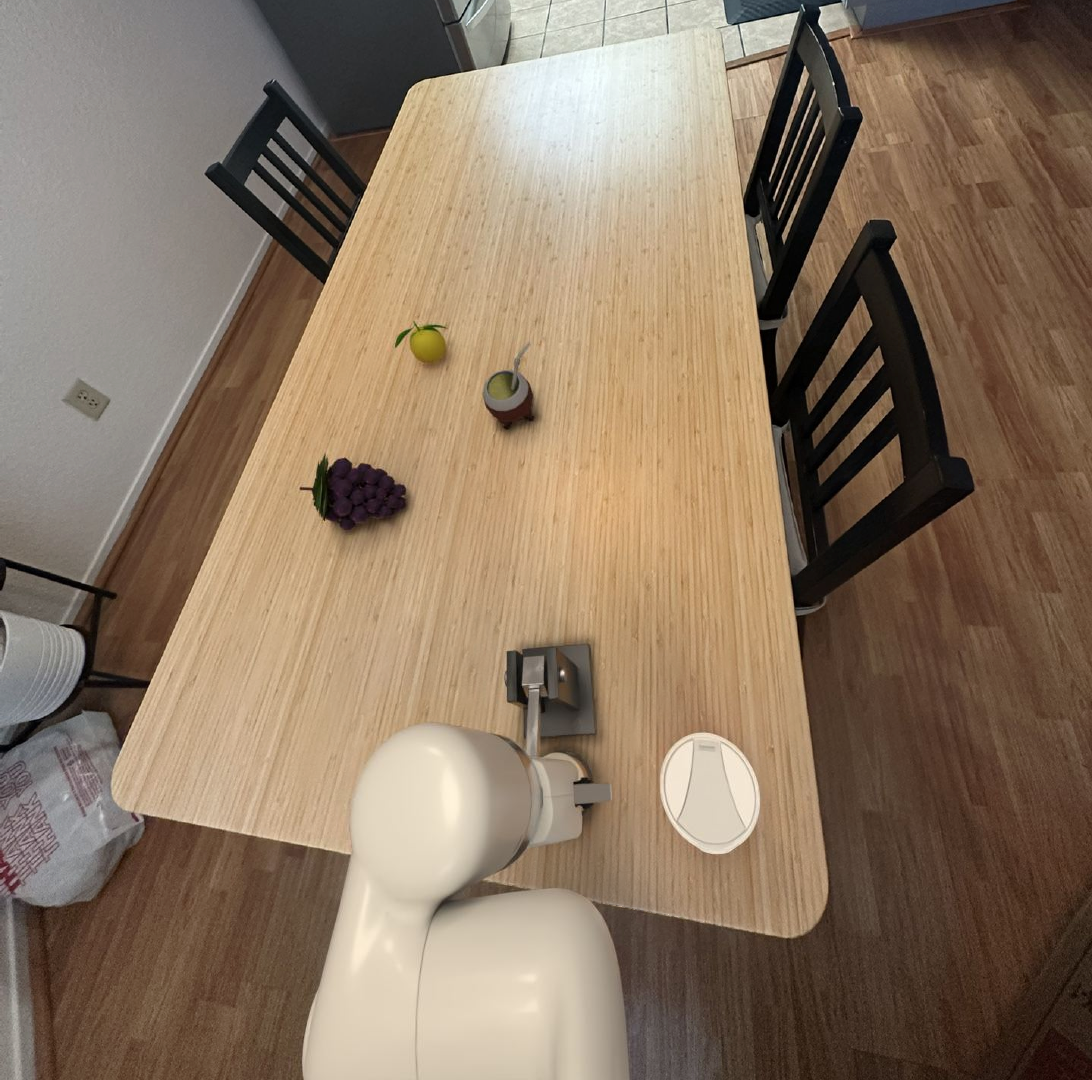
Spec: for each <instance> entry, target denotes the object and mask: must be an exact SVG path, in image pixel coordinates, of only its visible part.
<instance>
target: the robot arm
mask: <svg viewBox="0 0 1092 1080" xmlns="http://www.w3.org/2000/svg"><path fill="white" fill-rule="evenodd" d="M543 757H544V756H542V757H531V756H529V755H528V754H527V752H526V749H524V748H523V746H521V745H520V744H519V743H517V742H516V741H515V740H513V739H511V738H510V737H508V736H505V735H501V734H498V733H493V732H487V731H484V730H479V729H474V728H469V727H465V726H461V725H455V724H451V723H447V722H446V723H445V722H440V721H439V722H438V721H437V722H436V721H425V722H418V723H413V724H411V725H409V726H406V727H403V728H402V729H399V730H398V731H396V732H395V733H393V734H392V735H390V736H389V737H388V738H387V739H385V740H384V741H383V742H382V743H381V744H380V745H379V746H378V747H377V748H376V750H375V751H374V752H373V753H372V755H371V756H370V757H369V759H368V760H367V762H366V763H365V765H364V767H363V769H362V770H361V772H360V775H359V777H358V780H357V782H356V784H355V787H354V791H353V794H352V798H351V803H350V810H349V837H350V845H351V853H350V858H349V862H348V867H347V871H346V875H345V880H344V884H343V889H342V894H341V897H340V903H339V906H338V910H337V913H336V919H335V922H334V926H333V930H332V933H331V938H330V941H329V945H328V950H327V952H326V953H327V954H326V957H325V961H324V965H323V969H322V973H321V977H320V980H319V981H320V982H319V985H318V988H317V991H316V993H315V995H314V998H313V1001H312V1003H311V1007H310V1010H309V1014H308V1016H307V1022H306V1027H305V1030H304V1037H303V1043H302V1044H303V1045H302V1053H301V1054H302V1057H301V1066H302V1077H303V1080H631V1078H630V1062H629V1061H630V1060H629V1047H628V1046H629V1045H628V1034H627V1033H628V1032H627V1018H626V1008H625V1002H624V1001H625V1000H624V993H623V992H624V991H623V985H622V977H621V971H620V966H619V961H618V955H617V952H616V948H615V945H614V941H613V938H612V935H611V933H610V930H609V927H608V925H607V923H606V921H605V919H604V917H603V915H602V914H601V912H600V911H599V910H598V908H597V907H596V906H595V904H594V903H593V902H592V901H591V900H589V898H587V897H586V896H584V895H582V894H580V893H578V892H577V891H574V890H572V889H571V890H570V889H566V888H561V887H553V888H552V887H551V888H538V889H527V890H519V891H518V890H517V891H509V892H504V893H497V894H489V895H483V896H475V897H468V898H460V897H461V895H462V893H463V892H464V891H465V890H466V889H467V888H469V887H471V886H473V885H475V884H477V883H480V882H481V881H483V880H485V879H487V878H489V877H491V876H493V875H495V874H497V873H500V872H501V871H503V870H505V869H508V868H509V867H511V866H512V865H514V864H515V863H516V862H517V861H518V860H519V859H520V858H521V857H522V856H523V855H524V854H525V852H527V850H528V849H531V848H537V847H543V846H549V845H553V844H558V843H562V842H567V841H570V840H576V839H577V838H578V837H579V836H581V834H582V832H583V816H582V813H581V809H580V807H583V809H588V810H589V809H591V807H593V806H594V804H596V803H609V802H614V800H613V789H612V788H613V787H612V782H610V781H609V782H593V783H592V780H590V779H588V777H582V778H581V780H579V781H578V769H577V767H576V766H575V765H574V764H573V763H572V762H570V761H566V760H559V759H551V758H543ZM578 806H580V807H578Z"/></svg>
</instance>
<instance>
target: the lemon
mask: <svg viewBox="0 0 1092 1080" xmlns="http://www.w3.org/2000/svg"><path fill="white" fill-rule="evenodd" d="M412 323H413V324H414V325H413V326H412V327H410V328H408V329H405V330H403V331H402V332H400V333H399V334H398V335H397V337H396V339H395V341H394V349H396V348H397V347H399V346H400V344H401V343H402V341H403V340H404V338H405V337H406V336H407V335H408V334H409V333H410V332H411V331H412V330H413V331H412V332H411V334H410V336H409V347H410V351H411V353H412V354H413V356H414V357H415V359H417V360H418V361H419V362H421V363H425V364H431V363H436V362H439V361H440V360H441V359H442V358H443V357H444V355H445V353H446V351H447V350H446V349H447V344H446V339H445V337H444V336H443V334H442V332H440V331H439V330H438V328H439V329H447V330H448V329H449V328H448V327H446V326H444V325H441V324H424V325H419V326H418V325H417V323H416V321H415V320H413V322H412Z"/></svg>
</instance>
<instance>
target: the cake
mask: <svg viewBox="0 0 1092 1080" xmlns="http://www.w3.org/2000/svg"><path fill="white" fill-rule="evenodd" d="M542 757H543V758H551V759H559V760H566V761H570V762H572V763H573V764H574V765H575V766H576V767H577V769H578V781H579V780H581V778H582V777H588V779H590V780H592V783H594V779H593V775H592V772H591V769H590V768H589V766H588V765H587V764H588V763H586V761H585V760H584V759H583V758H582V757H581V756H579V755H578V754H576V753H575V752H573V751H569V750H557V751H554V752H550V753H548V754H546V755H544V756H542ZM578 807H580V806H578ZM580 809H581V813H582V817H584V815H585V814H586V813H587V812H588V810H589V809H583V807H580Z"/></svg>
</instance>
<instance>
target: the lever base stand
mask: <svg viewBox="0 0 1092 1080" xmlns="http://www.w3.org/2000/svg"><path fill="white" fill-rule="evenodd" d="M505 655H506V670H505V672H504V676H503V677H504V679H503V680H504V685H505V687H506V703H508V704H511V705H514V706H516V707H519V708H522V710H523V711H522V712H523V714H522V715H523V738H524V739H525V740H526V734H527V713H528V698H527V697H526V695H525V692H524V690H523V688H522V668H523V657H532V656H545V658H546V661H547V677H548V696H544V697H541V727H540V739H547V738H559V737H560V738H563V737H576V736H577V737H578V736H594V735H598V729H597V717H596V704H595V691H594V680H593V679H594V678H593V666H592V651H591V645H590V643H579V644H567V645H553V646H544V647H543V646H542V647H531V648H530V647H529V648H522V649H521V652H519V651H518V650H517V649H516V650H515V649H514V650H507V651H506V653H505Z"/></svg>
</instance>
